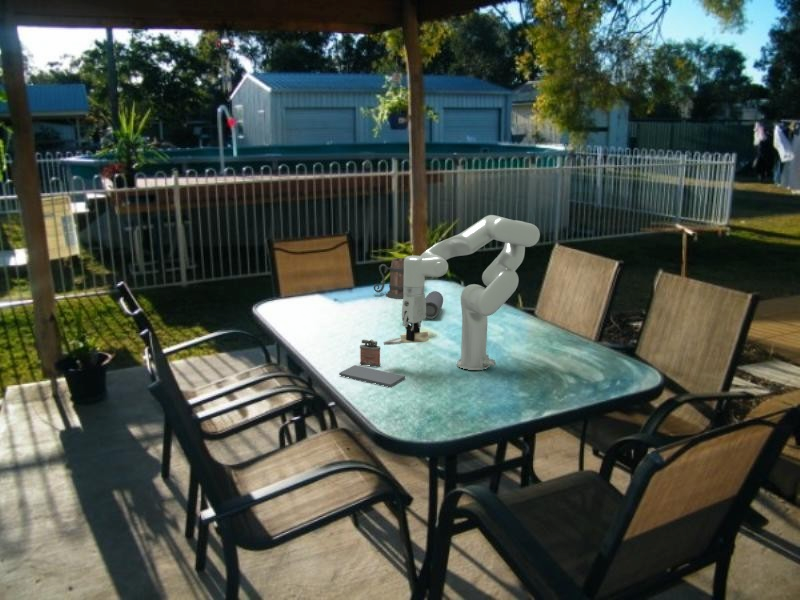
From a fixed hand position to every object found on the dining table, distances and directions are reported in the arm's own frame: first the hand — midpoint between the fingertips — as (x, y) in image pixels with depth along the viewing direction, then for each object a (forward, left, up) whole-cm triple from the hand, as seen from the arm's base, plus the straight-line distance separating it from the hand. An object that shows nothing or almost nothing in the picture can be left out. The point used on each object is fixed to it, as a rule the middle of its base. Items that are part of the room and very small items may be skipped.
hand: (412, 338), depth 244 cm
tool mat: (+10, +12, -13) cm, 20 cm away
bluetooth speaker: (+32, -76, -14) cm, 84 cm away
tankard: (+68, -100, -14) cm, 122 cm away
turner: (+2, 0, -1) cm, 2 cm away
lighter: (+18, +1, -13) cm, 23 cm away
